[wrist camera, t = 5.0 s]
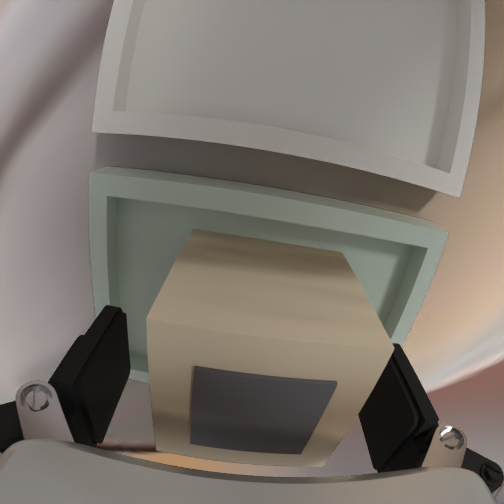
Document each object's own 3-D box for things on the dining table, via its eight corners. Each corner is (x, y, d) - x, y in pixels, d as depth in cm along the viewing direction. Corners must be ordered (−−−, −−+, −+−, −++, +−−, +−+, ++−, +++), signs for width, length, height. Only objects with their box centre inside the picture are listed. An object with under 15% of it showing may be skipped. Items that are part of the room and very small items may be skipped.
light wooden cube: (192, 228, 12) (144, 322, 7) (342, 252, 13) (396, 352, 7) (183, 348, 15) (155, 455, 9) (305, 364, 15) (322, 471, 9)
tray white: (155, -76, 7) (146, -91, 6) (466, -7, 8) (484, -15, 7) (108, 129, 11) (91, 132, 10) (441, 189, 12) (459, 198, 10)
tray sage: (106, 166, 12) (89, 172, 10) (431, 221, 12) (448, 233, 11) (113, 354, 16) (104, 372, 14) (362, 386, 16) (368, 405, 15)
